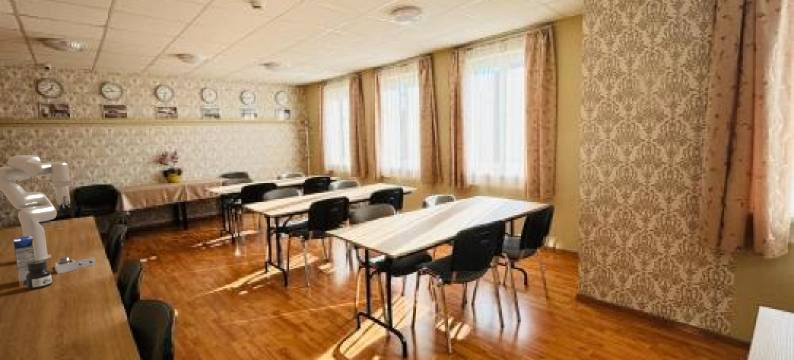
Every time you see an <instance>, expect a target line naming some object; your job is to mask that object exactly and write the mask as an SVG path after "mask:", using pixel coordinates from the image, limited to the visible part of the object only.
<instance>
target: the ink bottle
mask: <svg viewBox="0 0 794 360" xmlns="http://www.w3.org/2000/svg"><path fill="white" fill-rule="evenodd" d="M27 267H28V271H29V273H28V274H27V275H26V282H27V285H26V287H27V289H28V290H38V289H43V288H46V287H49V286H51V285H52V284H53V280H52V272H51V270H50V269H48V264H47V259H45V260H38V261H33V262H29V263H27Z"/></svg>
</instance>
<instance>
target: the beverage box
mask: <svg viewBox="0 0 794 360" xmlns="http://www.w3.org/2000/svg"><path fill="white" fill-rule="evenodd" d="M13 247H14V253H15V254H14V255H15V260H16V261H15V262H16V268H17V275H18V283H19V287H22V286H27V282H26V275H27V274H28V273H29V271H28V267H27V263H29V262H33V261H36V258H35V250H34V242H33V236H25V237H23V236H19V237H14V238H13Z"/></svg>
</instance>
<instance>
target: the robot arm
mask: <svg viewBox="0 0 794 360" xmlns="http://www.w3.org/2000/svg"><path fill="white" fill-rule="evenodd" d="M7 165H8V166H0V191H1V192H2V193H3V194H4V196H5V197H6V198H7V200H8V201H9V202H10V203H11V205H12V206H13V207H14V208H15V209H17V210H19V211H18V215H17V217H18V220H19V223H20V225H21V229H22V237H25V236H33V242H34V250H35V258H36V261H38V260H49V259H50V258H52V255H51V254H48V248H47V247H48V245H47V240H46V233H45V232H46V231H45V228H44V226H43V225H41V224H40V223H41V222H47V221H51V220H54V219H56V217H57V214H58V211H57V209H56V207H55V206H54V204H53V203H52V202H51V201H50V199H49V198H48V197H47V195H45V194H44V193H43V192H42V191H31V192H30V191H29V192H28V191H26V190H25V189H24V188H23V187H22V186H21V185H20V184H18V183H16V182H15V181H20V180H22V181H23V180H27V179H28V180H29V179H30V178H32V177H50V176H51V178H52V186H53V188H55V200H56V204H57V205H59V213H60V214H63V216H69V215H71V214H72V213H71V207H70V206H71V205H70V203H71V197H70V189H69V187H71V185H72V184H71V178H70V177H71V176H70V169H69V164H68V163H67V162H59V161H54V162H52V161H51V162H49V161H48V162H42V159H41V158H40V157H39V156H37V155H34V154H24V155H23V154H20V155H13V156H11V157H10V158H8V160H7Z"/></svg>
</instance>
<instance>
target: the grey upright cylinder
mask: <svg viewBox="0 0 794 360" xmlns="http://www.w3.org/2000/svg"><path fill="white" fill-rule="evenodd" d="M70 258H71V257H70V256H65V257H64V256H63V257H60V258H59V262H60V264H65V263H70V260H71V259H70Z"/></svg>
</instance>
